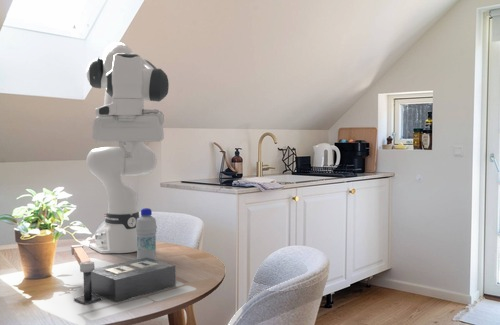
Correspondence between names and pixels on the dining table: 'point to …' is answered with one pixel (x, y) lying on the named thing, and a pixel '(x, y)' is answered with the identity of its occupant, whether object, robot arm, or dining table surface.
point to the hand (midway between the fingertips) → (128, 157)
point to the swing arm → (82, 258)
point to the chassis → (132, 279)
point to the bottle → (146, 235)
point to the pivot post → (87, 291)
